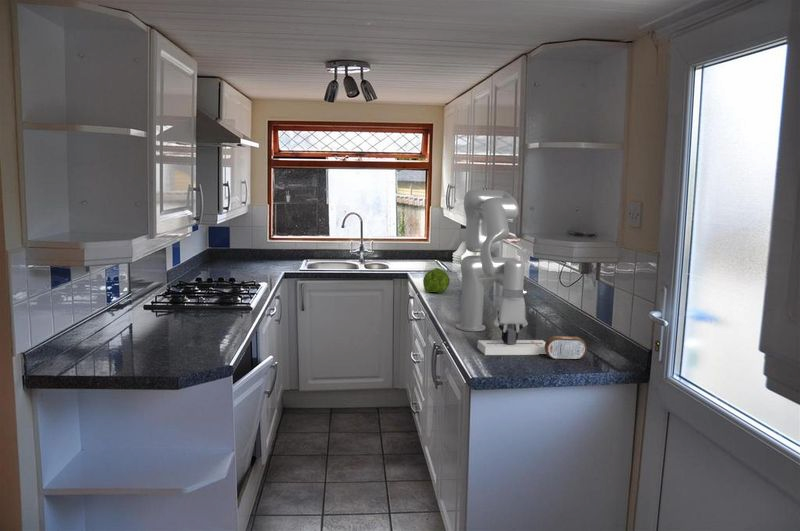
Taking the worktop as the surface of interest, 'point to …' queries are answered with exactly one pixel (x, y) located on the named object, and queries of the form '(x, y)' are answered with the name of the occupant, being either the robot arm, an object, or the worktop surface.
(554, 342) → the tin
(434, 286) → the lettuce
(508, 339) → the fader tab
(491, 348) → the console
